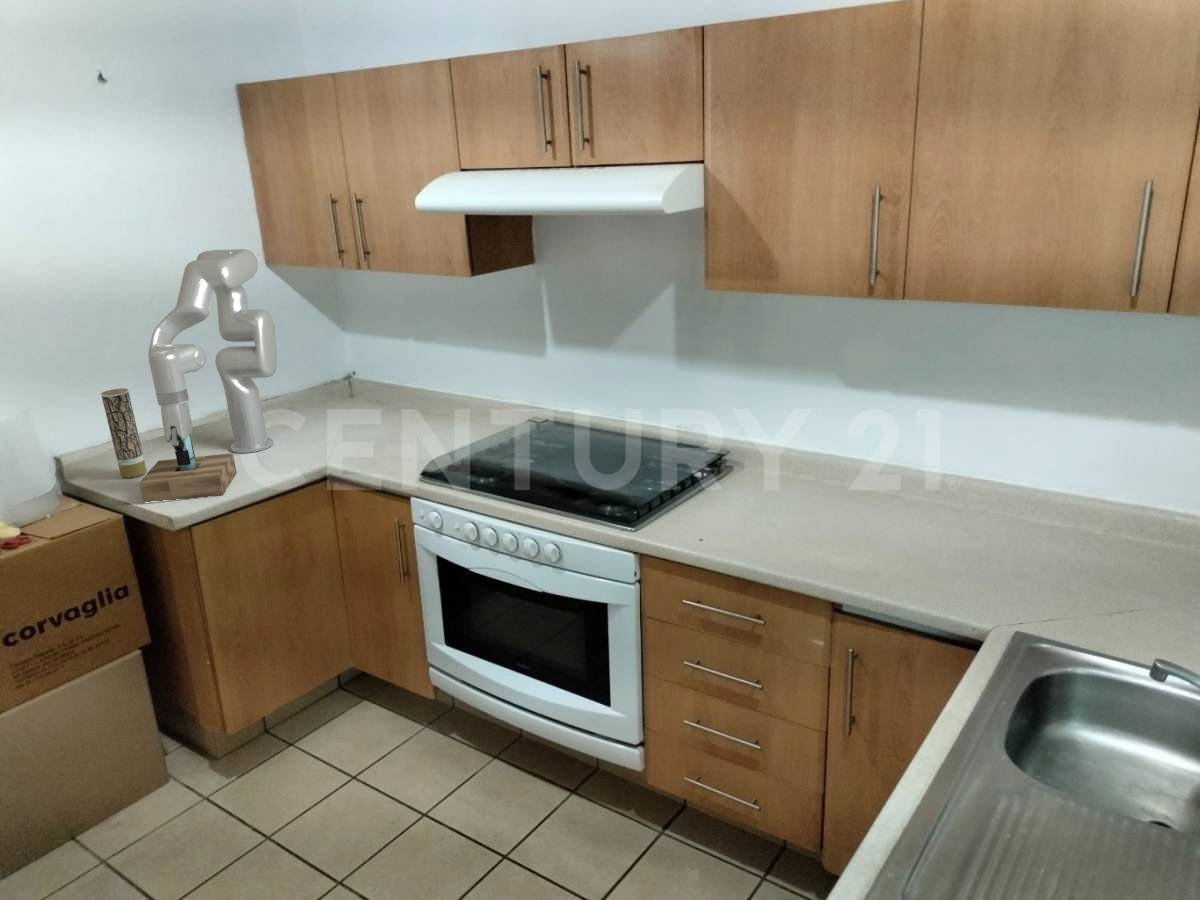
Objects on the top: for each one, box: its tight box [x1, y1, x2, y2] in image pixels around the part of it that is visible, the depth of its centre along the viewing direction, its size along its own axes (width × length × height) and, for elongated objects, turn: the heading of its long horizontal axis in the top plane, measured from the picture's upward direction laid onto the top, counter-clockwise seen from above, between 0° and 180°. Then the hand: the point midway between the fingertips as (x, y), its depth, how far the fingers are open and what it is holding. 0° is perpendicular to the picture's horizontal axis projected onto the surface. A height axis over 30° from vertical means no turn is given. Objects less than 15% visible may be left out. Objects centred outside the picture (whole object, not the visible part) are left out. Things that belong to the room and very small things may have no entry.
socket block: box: [138, 452, 238, 503], centre depth 247 cm, size 18×20×6 cm
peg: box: [178, 435, 196, 471], centre depth 245 cm, size 4×4×12 cm
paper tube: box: [101, 388, 147, 479], centre depth 257 cm, size 7×7×25 cm
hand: (186, 461), depth 246 cm, fingers closed on peg, 4 cm apart
